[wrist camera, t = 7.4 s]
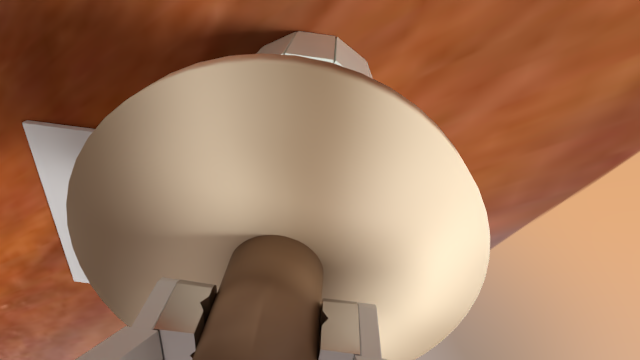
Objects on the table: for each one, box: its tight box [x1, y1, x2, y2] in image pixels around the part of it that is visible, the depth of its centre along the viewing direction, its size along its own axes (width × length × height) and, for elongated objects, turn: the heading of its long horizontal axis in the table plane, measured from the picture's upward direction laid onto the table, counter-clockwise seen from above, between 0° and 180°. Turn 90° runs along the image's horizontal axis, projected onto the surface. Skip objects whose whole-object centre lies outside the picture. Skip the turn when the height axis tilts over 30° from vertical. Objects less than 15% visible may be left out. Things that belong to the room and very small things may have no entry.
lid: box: [66, 53, 490, 360], centre depth 10 cm, size 13×13×5 cm
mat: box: [22, 120, 95, 283], centre depth 30 cm, size 16×16×1 cm
